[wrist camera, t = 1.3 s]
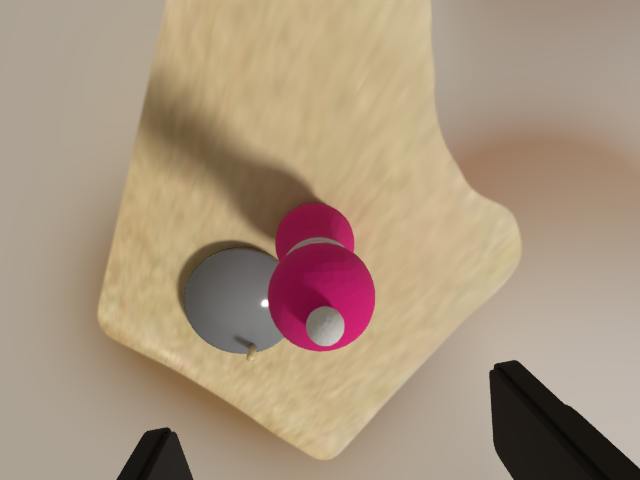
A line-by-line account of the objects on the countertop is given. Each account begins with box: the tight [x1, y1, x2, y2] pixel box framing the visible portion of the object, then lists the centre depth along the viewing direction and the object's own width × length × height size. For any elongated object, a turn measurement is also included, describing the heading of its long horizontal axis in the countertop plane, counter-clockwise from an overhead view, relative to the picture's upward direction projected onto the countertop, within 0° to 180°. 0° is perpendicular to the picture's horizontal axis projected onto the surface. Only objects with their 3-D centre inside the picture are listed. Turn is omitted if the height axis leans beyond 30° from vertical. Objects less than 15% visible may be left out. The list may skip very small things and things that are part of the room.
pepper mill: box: [268, 203, 375, 351], centre depth 23 cm, size 7×7×20 cm
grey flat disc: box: [184, 247, 284, 362], centre depth 33 cm, size 12×12×3 cm
